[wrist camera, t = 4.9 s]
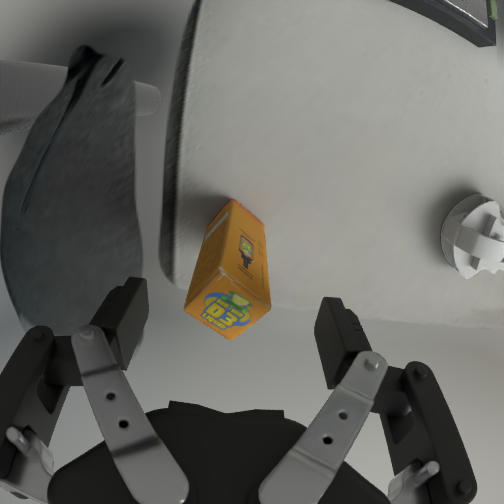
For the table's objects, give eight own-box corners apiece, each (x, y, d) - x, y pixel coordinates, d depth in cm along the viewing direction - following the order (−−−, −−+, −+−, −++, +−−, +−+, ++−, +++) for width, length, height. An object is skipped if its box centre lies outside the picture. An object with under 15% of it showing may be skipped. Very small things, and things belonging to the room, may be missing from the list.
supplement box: (202, 229, 22) (176, 309, 13) (233, 196, 21) (223, 261, 12) (236, 255, 23) (230, 345, 14) (266, 225, 22) (280, 305, 13)
